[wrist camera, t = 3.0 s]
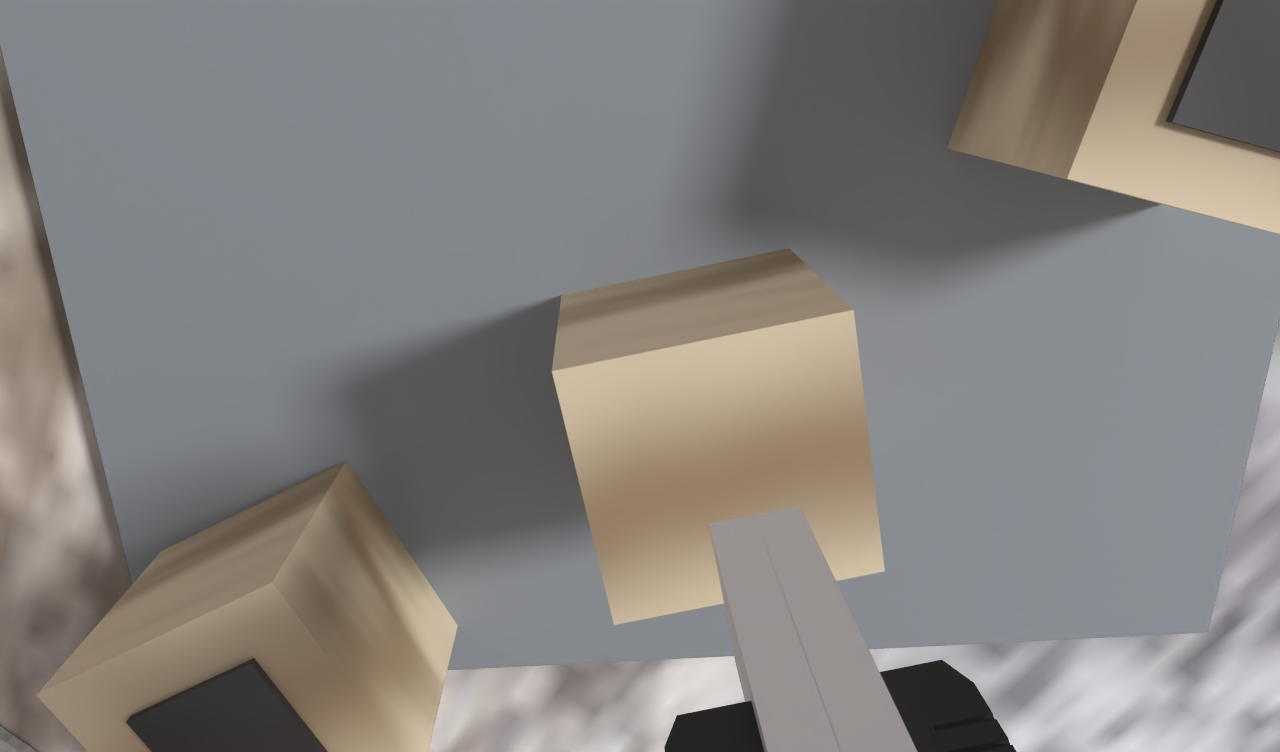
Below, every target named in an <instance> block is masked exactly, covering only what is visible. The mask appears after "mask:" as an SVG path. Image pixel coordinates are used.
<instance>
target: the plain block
mask: <svg viewBox="0 0 1280 752" xmlns="http://www.w3.org/2000/svg"><path fill="white" fill-rule="evenodd" d="M552 374H553V379H554V383H555V387H556V391H557V395H558V399H559V403H560V407H561V411H562V415H563V419H564V423H565V427H566V431H567V435H568V440H569V444H570V448H571V452H572V456H573V460H574V464H575V468H576V472H577V476H578V480H579V484H580V488H581V492H582V497H583V501H584V505H585V509H586V513H587V517H588V521H589V525H590V529H591V533H592V537H593V541H594V545H595V549H596V553H597V558H598V562H599V566H600V570H601V574H602V578H603V582H604V586H605V590H606V594H607V598H608V602H609V606H610V610H611V614H612V619H613V623H614V625H617V624H622V623H627V622H632V621H638V620H643V619H648V618H653V617H658V616H663V615H668V614H673V613H678V612H683V611H688V610H693V609H698V608H703V607H708V606H713V605H718V604H723V603H724V600H723V595H722V590H721V585H720V580H719V575H718V570H717V565H716V559H715V554H714V549H713V544H712V539H711V534H710V529H709V524H712V523H717V522H722V521H727V520H732V519H737V518H742V517H746V516H751V515H756V514H761V513H766V512H771V511H776V510H781V509H786V508H791V507H796V506H801V508H802V511H803V513H804V515H805V517H806V519H807V521H808V523H809V525H810V527H811V529H812V532H813V534H814V536H815V538H816V540H817V542H818V544H819V546H820V548H821V550H822V553H823V555H824V557H825V559H826V561H827V563H828V565H829V567H830V569H831V571H832V574H833V576H834V578H835V580H836V581H839V580H844V579H849V578H854V577H859V576H864V575H869V574H874V573H879V572H884V571H885V568H884V560H883V551H882V543H881V534H880V526H879V518H878V509H877V501H876V493H875V484H874V476H873V467H872V459H871V451H870V442H869V434H868V425H867V417H866V409H865V400H864V392H863V383H862V375H861V367H860V358H859V350H858V341H857V333H856V325H855V316H854V310H853V309H852V308H851V307H850V306H849V305H848V304H847V303H846V302H845V301H844V300H843V299H842V298H841V297H840V296H839V295H838V294H837V293H836V292H835V291H834V290H833V289H832V288H830V287H829V286H828V285H827V284H826V283H825V282H824V281H823V280H822V279H821V278H820V277H819V276H818V275H817V274H816V273H815V272H814V271H813V270H812V269H811V268H810V267H809V266H808V265H806V264H805V263H804V262H803V261H802V260H801V259H800V258H799V257H798V256H797V255H796V254H795V253H794V252H793V251H792V250H791V249H790V248H788V249H783V250H778V251H773V252H768V253H763V254H758V255H753V256H749V257H744V258H739V259H734V260H729V261H724V262H719V263H715V264H710V265H705V266H700V267H695V268H690V269H685V270H680V271H676V272H671V273H666V274H661V275H656V276H651V277H646V278H642V279H637V280H632V281H627V282H622V283H617V284H612V285H607V286H603V287H598V288H593V289H588V290H583V291H578V292H573V293H568V294H564V295H561V303H560V310H559V318H558V326H557V334H556V342H555V350H554V357H553V365H552Z"/></svg>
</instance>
